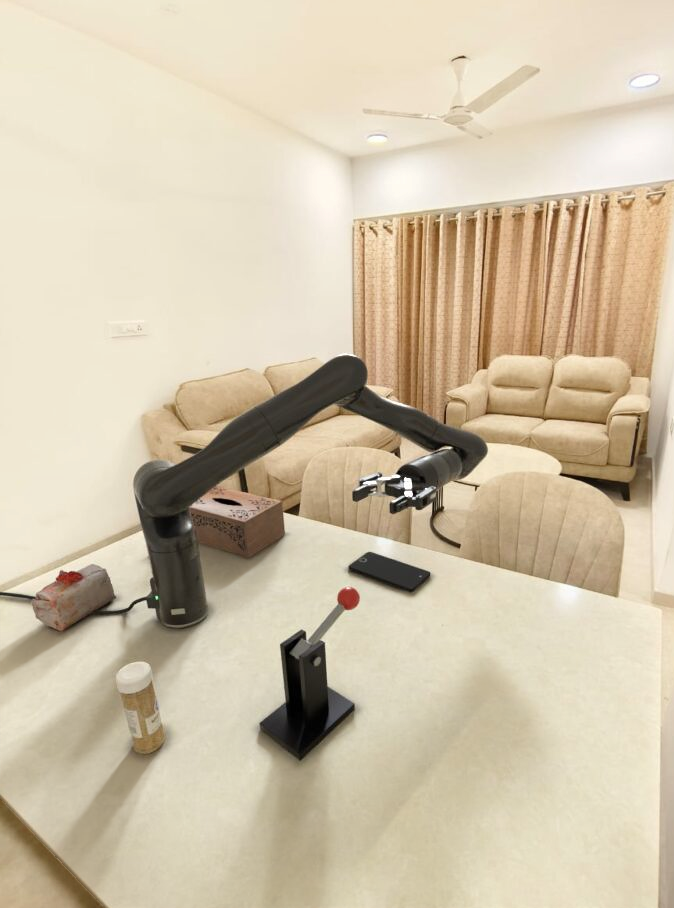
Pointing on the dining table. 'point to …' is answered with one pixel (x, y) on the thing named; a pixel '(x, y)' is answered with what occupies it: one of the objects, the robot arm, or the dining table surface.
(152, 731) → the sprinkles bottle
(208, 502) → the tissue box cover
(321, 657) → the bracket
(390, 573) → the cell phone
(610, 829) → the dining table surface
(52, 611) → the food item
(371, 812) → the dining table surface
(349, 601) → the lever
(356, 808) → the dining table surface
